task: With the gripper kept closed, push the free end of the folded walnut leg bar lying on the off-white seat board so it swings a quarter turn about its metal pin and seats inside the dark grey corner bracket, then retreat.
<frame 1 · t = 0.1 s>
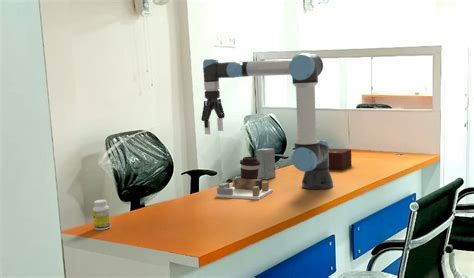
hand: (214, 132, 280), 28 cm above the table, fingers open, 13 cm apart
coffee cup: (248, 187, 277), on the table
skincare box: (266, 178, 301), on the table
seat board: (244, 194, 264), on the table
grey frame: (239, 185, 286), on the table
pill bottle: (102, 228, 218), on the table
box: (330, 167, 324), on the table
leg: (248, 183, 269), point 4 cm above the table, hinge at 0.0°
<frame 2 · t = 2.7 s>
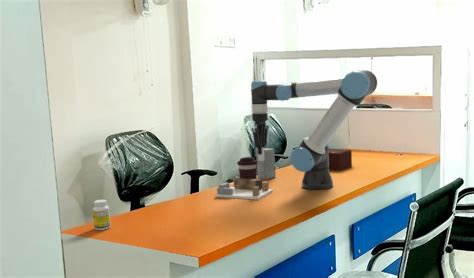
hand: (261, 160, 272), 14 cm above the table, fingers closed
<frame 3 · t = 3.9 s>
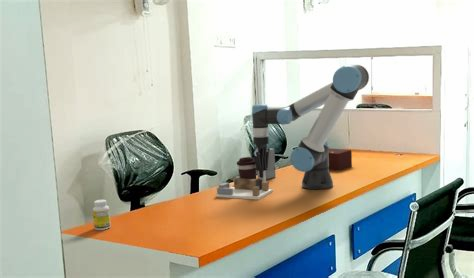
hand: (262, 183, 274), 3 cm above the table, fingers closed
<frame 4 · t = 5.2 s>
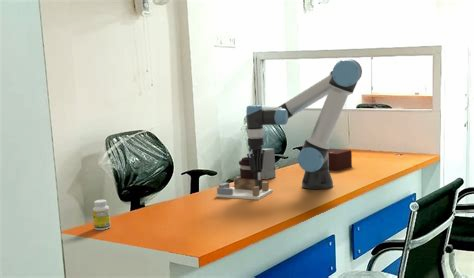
hand: (257, 185, 269), 3 cm above the table, fingers closed
leg: (247, 183, 269), point 4 cm above the table, hinge at 1.8°, touching gripper
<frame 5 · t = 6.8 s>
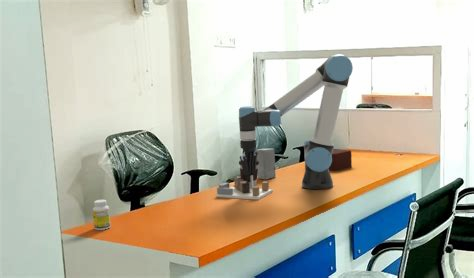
hand: (250, 188, 264), 3 cm above the table, fingers closed
leg: (241, 184, 267), point 4 cm above the table, hinge at 46.0°, touching gripper
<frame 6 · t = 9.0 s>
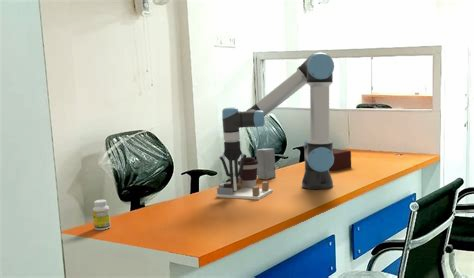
hand: (234, 190, 262), 3 cm above the table, fingers closed
leg: (233, 185, 267), point 4 cm above the table, hinge at 91.2°, touching gripper
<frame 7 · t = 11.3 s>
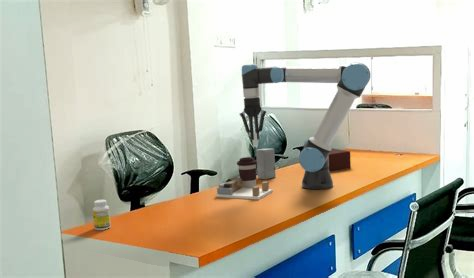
hand: (255, 146, 266), 22 cm above the table, fingers closed
leg: (233, 185, 267), point 4 cm above the table, hinge at 90.5°
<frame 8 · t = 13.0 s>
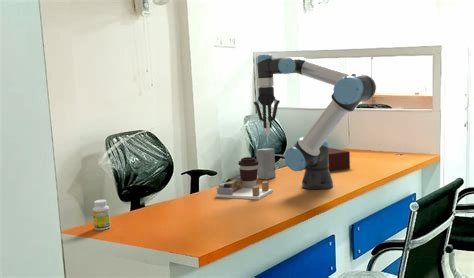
hand: (267, 134, 273), 26 cm above the table, fingers closed
at the end: leg at +90° (first picture: +0°) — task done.
